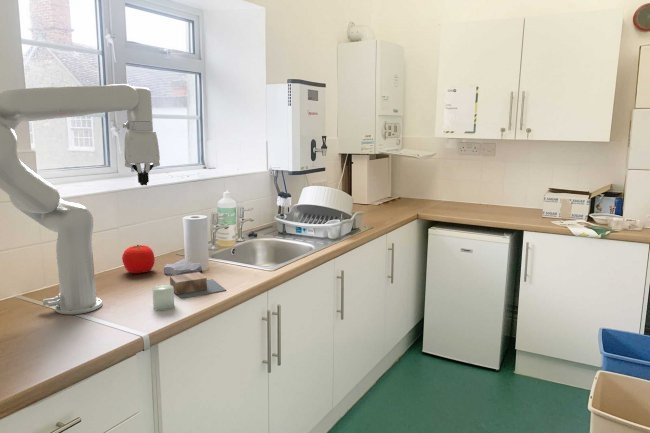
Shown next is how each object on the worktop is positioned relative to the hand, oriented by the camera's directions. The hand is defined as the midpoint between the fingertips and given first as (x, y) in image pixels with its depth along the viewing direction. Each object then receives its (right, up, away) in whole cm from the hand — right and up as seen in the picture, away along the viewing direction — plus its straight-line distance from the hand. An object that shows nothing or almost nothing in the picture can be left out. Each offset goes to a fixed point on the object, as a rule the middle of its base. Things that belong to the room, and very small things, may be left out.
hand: (143, 184), depth 161 cm
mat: (+16, -35, +6) cm, 39 cm away
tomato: (-11, -31, +25) cm, 42 cm away
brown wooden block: (+9, -33, +2) cm, 34 cm away
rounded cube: (+10, -38, -11) cm, 40 cm away
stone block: (+6, -32, +26) cm, 41 cm away
